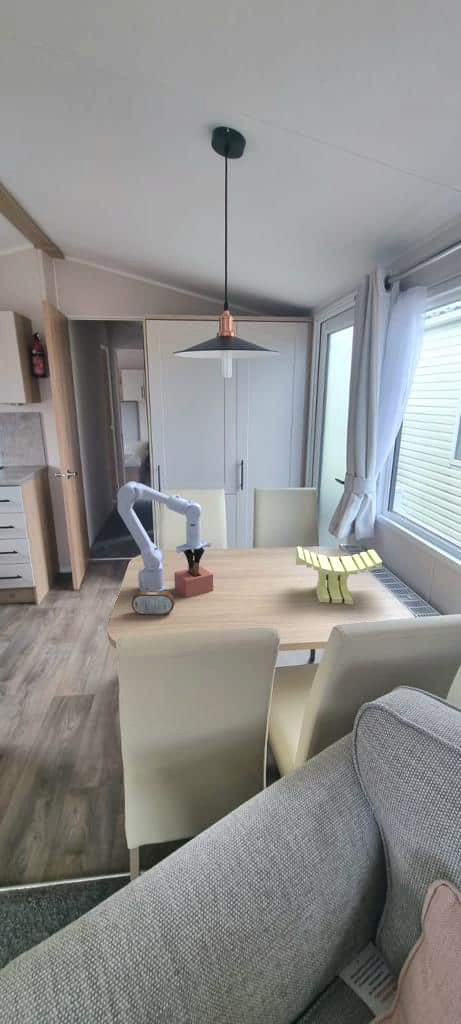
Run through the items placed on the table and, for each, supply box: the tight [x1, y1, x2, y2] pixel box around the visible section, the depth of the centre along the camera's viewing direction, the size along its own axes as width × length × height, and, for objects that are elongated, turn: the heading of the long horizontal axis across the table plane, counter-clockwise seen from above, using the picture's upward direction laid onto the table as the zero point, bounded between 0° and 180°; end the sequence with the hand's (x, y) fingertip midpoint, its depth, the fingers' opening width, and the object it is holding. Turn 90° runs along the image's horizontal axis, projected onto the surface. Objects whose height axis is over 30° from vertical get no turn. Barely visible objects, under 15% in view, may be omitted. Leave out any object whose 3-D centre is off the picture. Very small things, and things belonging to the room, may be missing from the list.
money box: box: [173, 565, 214, 598], centre depth 173 cm, size 12×10×7 cm
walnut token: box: [187, 559, 200, 576], centre depth 172 cm, size 2×5×5 cm, turn 34°
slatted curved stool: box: [295, 546, 383, 605], centre depth 170 cm, size 30×16×18 cm, turn 86°
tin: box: [131, 590, 176, 616], centre depth 153 cm, size 15×3×8 cm, turn 92°
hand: (193, 566), depth 172 cm, fingers closed on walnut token, 2 cm apart
